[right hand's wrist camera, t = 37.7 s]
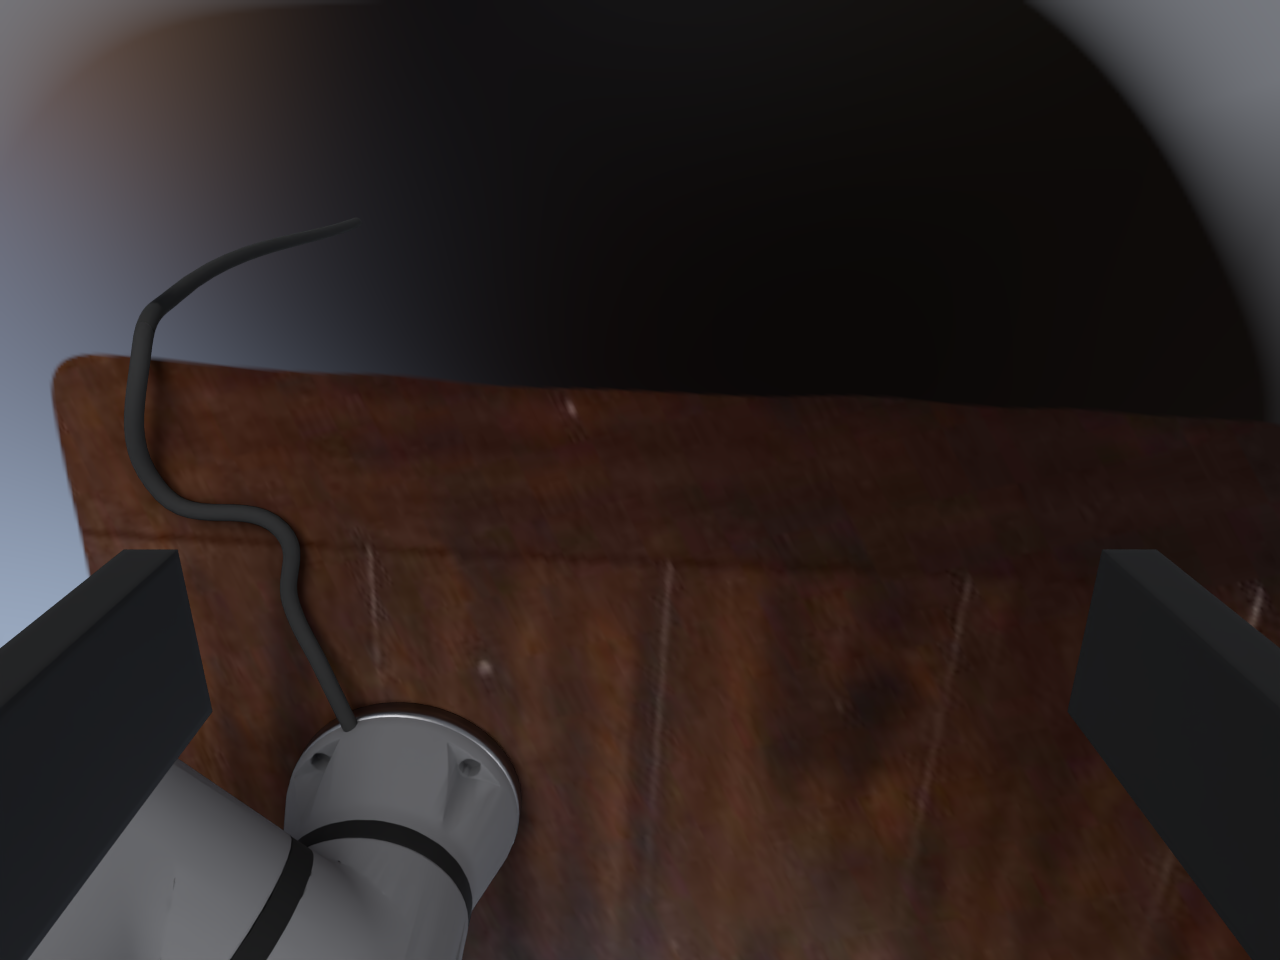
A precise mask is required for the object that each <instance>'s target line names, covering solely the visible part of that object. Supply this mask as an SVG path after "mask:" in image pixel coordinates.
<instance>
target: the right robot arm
mask: <svg viewBox="0 0 1280 960" xmlns="http://www.w3.org/2000/svg"><path fill="white" fill-rule="evenodd" d="M361 224H362V222H361V220H360V219H359V218H352V219H349V220H346V221H343V222H340V223H336V224H333V225H329V226H325V227H321V228H317V229H312V230H308V231H303V232H299V233H294V234H290V235H285V236H281V237H277V238H273V239H269V240H265V241H262V242H258V243H255V244H252V245H249V246H245V247H242V248H240V249H237V250H235V251H232V252H229V253H227V254H224V255H222V256H220V257H218V258H216V259H214V260H212V261H210V262H208V263H206V264H204V265H203V266H201V267H199V268H198V269H196V270H194V271H193V272H191V273H189V274H188V275H186V276H185V277H183V278H182V279H180V280H179V281H178V282H177V283H175V284H174V285H173V286H171V287H170V288H169V289H167V290H166V291H165V292H163V293H162V294H161V295H160V296H158V297H157V298H155V299H154V300H153V301H152V302H150V303H149V304H148V305H147V306H146V307H145V308H144V309H143V311H142V312H141V314H140V316H139V318H138V321H137V324H136V327H135V331H134V336H133V343H132V350H131V358H130V366H129V373H128V381H127V388H126V397H125V410H124V431H125V441H126V446H127V450H128V454H129V457H130V460H131V463H132V465H133V467H134V469H135V471H136V473H137V475H138V477H139V478H140V480H141V481H142V483H143V484H144V486H145V487H146V489H147V490H148V491H149V492H150V493H151V495H152V496H153V497H154V498H155V499H156V500H157V501H158V502H159V503H160V504H161V505H163V506H164V507H165V508H166V509H168V510H170V511H172V512H174V513H175V514H177V515H181V516H184V517H187V518H192V519H198V520H210V521H241V522H248V523H253V524H256V525H259V526H262V527H263V528H265V529H267V530H269V531H270V532H271V533H272V534H273V535H274V536H275V537H276V538H277V539H278V541H279V542H280V544H281V547H282V550H283V565H282V572H281V580H280V594H281V601H282V605H283V608H284V611H285V614H286V617H287V619H288V622H289V624H290V626H291V628H292V630H293V633H294V635H295V636H296V638H297V640H298V642H299V644H300V646H301V648H302V649H303V651H304V653H305V655H306V657H307V659H308V661H309V662H310V664H311V666H312V668H313V670H314V672H315V674H316V676H317V678H318V680H319V683H320V685H321V687H322V689H323V691H324V693H325V695H326V697H327V699H328V701H329V703H330V705H331V707H332V709H333V711H334V713H335V715H336V717H337V718H336V719H334V720H333V721H331V722H329V723H328V724H327V725H326V726H324V727H323V728H322V729H321V730H320V731H319V732H318V733H317V734H316V735H315V736H314V737H313V738H312V739H311V741H310V742H309V743H308V745H307V747H306V748H305V750H304V752H303V753H302V755H301V757H300V759H299V761H298V763H297V765H296V767H295V769H294V771H293V773H292V776H291V779H290V784H289V787H288V792H287V797H286V808H285V821H284V830H282V829H281V828H279V827H278V826H276V825H275V824H273V823H272V822H270V821H269V820H267V819H266V818H265V817H263V816H262V815H260V814H259V813H257V812H256V811H254V810H253V809H251V808H250V807H248V806H247V805H245V804H244V803H242V802H241V801H239V800H238V799H237V798H235V797H234V796H232V795H231V794H229V793H228V792H226V791H225V790H223V789H222V788H220V787H219V786H217V785H216V784H214V783H213V782H212V781H210V780H209V779H207V778H206V777H204V776H203V775H201V774H200V773H198V772H197V771H195V770H194V769H192V768H191V767H189V766H188V765H187V764H185V763H184V762H182V761H181V760H179V759H178V757H179V756H180V754H181V753H182V752H183V750H184V749H185V748H186V746H187V745H188V744H189V742H190V741H191V740H192V738H193V737H194V736H195V734H196V733H197V732H198V730H199V729H200V728H201V726H202V725H203V724H204V722H205V721H206V720H207V718H208V717H209V715H210V714H211V713H212V707H211V703H210V698H209V693H208V689H207V684H206V680H205V675H204V670H203V666H202V661H201V656H200V652H199V647H198V642H197V638H196V633H195V628H194V624H193V619H192V614H191V610H190V605H189V600H188V596H187V591H186V586H185V582H184V577H183V572H182V568H181V563H180V558H179V554H178V550H123V551H121V552H120V553H119V554H118V555H116V556H115V557H114V558H113V559H111V560H110V561H109V562H108V563H106V564H105V565H104V566H103V567H101V568H100V569H99V570H98V571H96V572H95V573H94V574H93V575H91V576H90V577H89V578H88V579H86V580H85V581H84V582H83V583H81V584H80V585H79V586H78V587H76V588H75V589H74V590H73V591H71V592H70V593H69V594H68V595H66V596H65V597H64V598H63V599H61V600H60V601H59V602H58V603H56V604H55V605H54V606H53V607H51V608H50V609H49V610H48V611H46V612H45V613H44V614H43V615H41V616H40V617H39V618H38V619H36V620H35V621H34V622H33V623H31V624H30V625H29V626H28V627H26V628H25V629H24V630H23V631H21V632H20V633H19V634H18V635H16V636H15V637H14V638H13V639H11V640H10V641H9V642H8V643H6V644H5V645H4V646H2V647H1V648H0V960H462V955H463V950H464V946H465V941H466V936H467V931H468V926H469V922H470V917H471V913H472V910H473V908H474V907H475V905H476V904H477V902H478V901H479V899H480V898H481V896H482V895H483V893H484V892H485V890H486V889H487V887H488V886H489V884H490V883H491V881H492V879H493V878H494V876H495V875H496V873H497V872H498V870H499V869H500V867H501V866H502V864H503V863H504V861H505V860H506V858H507V856H508V854H509V852H510V849H511V847H512V845H513V843H514V840H515V837H516V834H517V829H518V824H519V818H520V812H521V802H522V800H521V789H520V784H519V780H518V777H517V774H516V772H515V770H514V767H513V765H512V763H511V762H510V760H509V758H508V757H507V755H506V754H505V753H504V751H503V750H502V749H501V747H500V746H499V745H498V744H497V743H496V742H495V741H494V740H493V739H492V738H491V737H490V736H489V735H488V734H487V733H485V732H484V731H483V730H481V729H480V728H479V727H477V726H476V725H474V724H473V723H471V722H469V721H467V720H466V719H464V718H462V717H460V716H458V715H455V714H453V713H451V712H448V711H445V710H442V709H439V708H435V707H431V706H427V705H421V704H415V703H380V704H375V705H369V706H365V707H361V708H358V709H355V710H353V711H352V709H351V707H350V705H349V703H348V701H347V699H346V697H345V695H344V693H343V691H342V689H341V687H340V685H339V683H338V681H337V679H336V677H335V675H334V672H333V670H332V668H331V666H330V664H329V662H328V660H327V658H326V656H325V654H324V652H323V650H322V649H321V647H320V645H319V643H318V641H317V639H316V637H315V636H314V634H313V632H312V630H311V628H310V626H309V624H308V622H307V620H306V618H305V615H304V613H303V610H302V607H301V605H300V602H299V598H298V594H297V579H298V572H299V565H300V546H299V542H298V539H297V537H296V535H295V533H294V531H293V530H292V529H291V527H290V526H289V525H288V524H287V523H286V522H285V521H284V520H282V519H281V518H280V517H279V516H277V515H275V514H274V513H272V512H270V511H268V510H265V509H262V508H259V507H254V506H248V505H235V504H205V503H198V502H193V501H190V500H187V499H184V498H182V497H181V496H179V495H177V494H176V493H175V492H174V491H173V490H172V489H170V487H169V486H168V485H167V484H166V482H165V481H164V480H163V479H162V477H161V476H160V474H159V473H158V471H157V470H156V468H155V466H154V464H153V462H152V460H151V458H150V455H149V452H148V449H147V445H146V440H145V431H144V409H145V398H146V390H147V382H148V375H149V367H150V360H151V352H152V344H153V338H154V334H155V330H156V328H157V325H158V323H159V322H160V320H161V319H162V318H163V316H164V315H165V314H167V313H168V312H169V311H170V310H171V309H173V308H174V307H175V306H176V305H178V304H179V303H180V302H181V301H182V300H184V299H185V298H186V297H187V296H188V295H190V294H191V293H192V292H193V291H195V290H196V289H197V288H198V287H200V286H201V285H203V284H204V283H206V282H207V281H209V280H210V279H212V278H213V277H215V276H217V275H219V274H221V273H223V272H225V271H227V270H229V269H231V268H233V267H235V266H237V265H240V264H242V263H244V262H247V261H249V260H252V259H255V258H258V257H261V256H264V255H267V254H270V253H273V252H277V251H280V250H284V249H287V248H291V247H295V246H299V245H303V244H306V243H310V242H314V241H318V240H322V239H325V238H329V237H332V236H336V235H339V234H342V233H345V232H348V231H350V230H353V229H356V228H358V227H360V226H361ZM1068 713H1069V714H1070V715H1071V717H1072V718H1073V720H1074V721H1075V722H1076V724H1077V725H1078V726H1079V728H1080V729H1081V730H1082V732H1083V733H1084V734H1085V736H1086V737H1087V738H1088V740H1089V741H1090V742H1091V744H1092V745H1093V746H1094V748H1095V749H1096V750H1097V752H1098V753H1099V754H1100V756H1101V757H1102V759H1103V760H1104V761H1105V763H1106V764H1107V765H1108V767H1109V768H1110V769H1111V771H1112V772H1113V773H1114V775H1115V776H1116V777H1117V779H1118V780H1119V781H1120V783H1121V784H1122V785H1123V787H1124V788H1125V789H1126V791H1127V792H1128V793H1129V795H1130V796H1131V797H1132V799H1133V800H1134V802H1135V803H1136V804H1137V806H1138V807H1139V808H1140V810H1141V811H1142V812H1143V814H1144V815H1145V816H1146V818H1147V819H1148V820H1149V822H1150V823H1151V824H1152V826H1153V827H1154V828H1155V830H1156V831H1157V832H1158V834H1159V835H1160V836H1161V838H1162V839H1163V840H1164V842H1165V843H1166V845H1167V846H1168V847H1169V849H1170V850H1171V851H1172V853H1173V854H1174V855H1175V857H1176V858H1177V859H1178V861H1179V862H1180V863H1181V865H1182V866H1183V867H1184V869H1185V870H1186V871H1187V873H1188V874H1189V875H1190V877H1191V878H1192V879H1193V881H1194V882H1195V884H1196V885H1197V886H1198V888H1199V889H1200V890H1201V892H1202V893H1203V894H1204V896H1205V897H1206V898H1207V900H1208V901H1209V902H1210V904H1211V905H1212V906H1213V908H1214V909H1215V910H1216V912H1217V913H1218V914H1219V916H1220V917H1221V918H1222V920H1223V921H1224V922H1225V924H1226V925H1227V927H1228V928H1229V929H1230V931H1231V932H1232V933H1233V935H1234V936H1235V937H1236V939H1237V940H1238V941H1239V943H1240V944H1241V945H1242V947H1243V948H1244V949H1245V951H1246V952H1247V953H1248V955H1249V956H1250V957H1251V959H1252V960H1280V648H1279V647H1278V646H1276V645H1275V644H1274V643H1273V642H1271V641H1270V640H1269V639H1267V638H1266V637H1265V636H1264V635H1262V634H1261V633H1260V632H1259V631H1257V630H1256V629H1255V628H1254V627H1252V626H1251V625H1250V624H1249V623H1247V622H1246V621H1245V620H1244V619H1242V618H1241V617H1240V616H1239V615H1237V614H1236V613H1235V612H1234V611H1232V610H1231V609H1230V608H1229V607H1227V606H1226V605H1225V604H1224V603H1222V602H1221V601H1220V600H1219V599H1217V598H1216V597H1215V596H1214V595H1212V594H1211V593H1210V592H1209V591H1207V590H1206V589H1205V588H1204V587H1202V586H1201V585H1200V584H1199V583H1197V582H1196V581H1195V580H1194V579H1192V578H1191V577H1190V576H1189V575H1187V574H1186V573H1185V572H1184V571H1182V570H1181V569H1180V568H1179V567H1177V566H1176V565H1175V564H1174V563H1172V562H1171V561H1170V560H1169V559H1167V558H1166V557H1165V556H1164V555H1162V554H1161V553H1160V552H1159V551H1157V550H1102V554H1101V558H1100V563H1099V568H1098V572H1097V577H1096V582H1095V586H1094V591H1093V596H1092V600H1091V605H1090V610H1089V614H1088V619H1087V624H1086V628H1085V633H1084V638H1083V642H1082V647H1081V652H1080V656H1079V661H1078V666H1077V670H1076V675H1075V680H1074V684H1073V689H1072V693H1071V698H1070V703H1069V707H1068Z"/></svg>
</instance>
